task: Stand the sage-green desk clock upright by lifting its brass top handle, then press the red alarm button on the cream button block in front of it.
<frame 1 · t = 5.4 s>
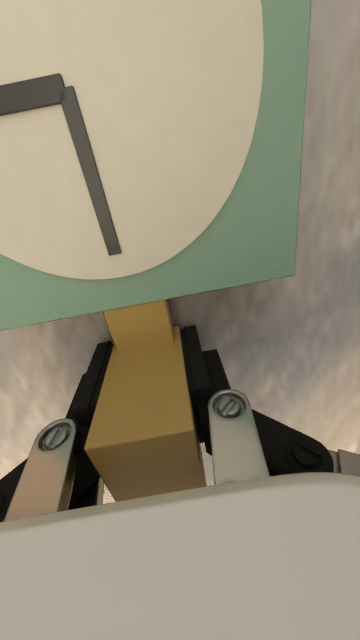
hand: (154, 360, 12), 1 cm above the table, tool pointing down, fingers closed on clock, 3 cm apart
clock: (91, 205, 6), point 3 cm above the table, hinge at 0.0°, touching gripper
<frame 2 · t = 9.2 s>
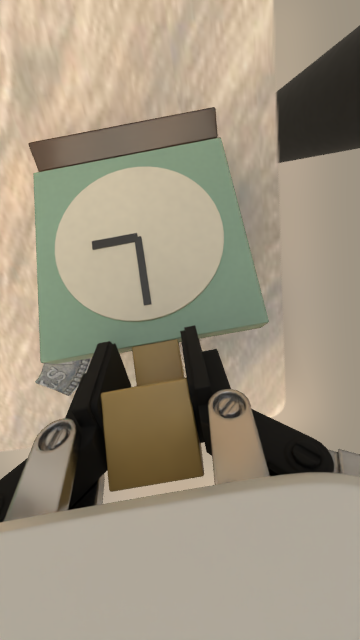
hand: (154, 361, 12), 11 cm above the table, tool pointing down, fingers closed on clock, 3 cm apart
clock: (139, 270, 12), point 9 cm above the table, hinge at 42.5°, touching gripper
clock foot: (126, 142, 17), on the table
coin fragment: (67, 346, 24), on the table
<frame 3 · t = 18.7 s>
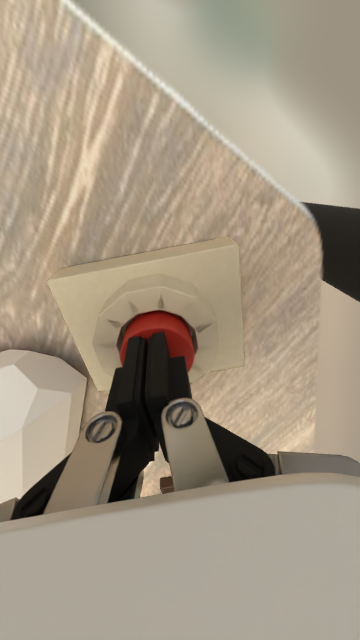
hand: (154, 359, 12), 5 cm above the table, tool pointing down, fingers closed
crystal: (34, 445, 22), on the table
clock foot: (217, 473, 26), on the table
alarm block: (158, 311, 16), on the table
alarm button: (157, 348, 13), point 4 cm above the table, slide at -0.2 cm, touching gripper
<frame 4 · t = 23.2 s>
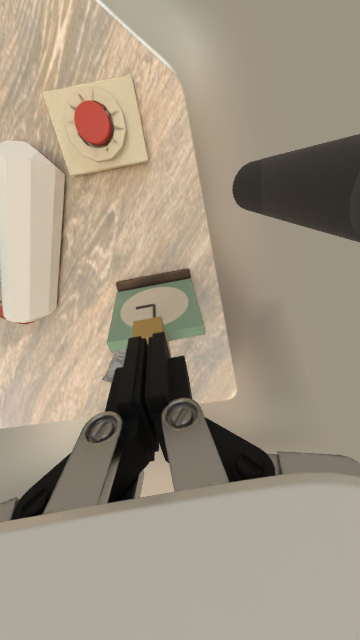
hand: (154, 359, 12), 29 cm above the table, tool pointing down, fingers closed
steak: (3, 319, 41), on the table
clock: (152, 309, 31), point 10 cm above the table, hinge at 81.3°
crystal: (35, 240, 36), on the table
clock foot: (153, 279, 40), on the table
alarm block: (102, 132, 30), on the table
alarm button: (93, 124, 26), point 4 cm above the table, slide at 0.1 cm
coin fragment: (120, 361, 48), on the table
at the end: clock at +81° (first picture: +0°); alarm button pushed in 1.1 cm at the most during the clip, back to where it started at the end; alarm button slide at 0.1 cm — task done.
